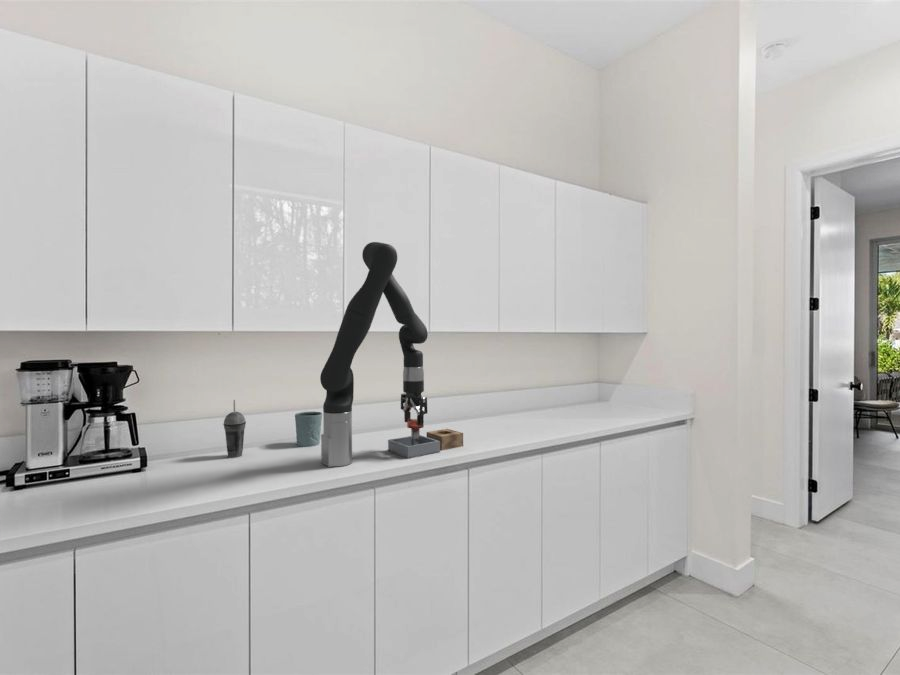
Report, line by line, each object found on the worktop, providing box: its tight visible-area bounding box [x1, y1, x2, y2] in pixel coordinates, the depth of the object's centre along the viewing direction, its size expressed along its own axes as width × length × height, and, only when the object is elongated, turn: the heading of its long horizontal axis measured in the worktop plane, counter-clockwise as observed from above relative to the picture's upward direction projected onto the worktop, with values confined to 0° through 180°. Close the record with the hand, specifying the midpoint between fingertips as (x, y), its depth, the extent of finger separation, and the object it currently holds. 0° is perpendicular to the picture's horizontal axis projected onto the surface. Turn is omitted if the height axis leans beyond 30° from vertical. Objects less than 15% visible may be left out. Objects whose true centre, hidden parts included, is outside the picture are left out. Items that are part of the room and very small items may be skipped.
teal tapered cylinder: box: [294, 411, 323, 448], centre depth 182 cm, size 10×10×12 cm
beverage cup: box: [222, 399, 247, 459], centre depth 165 cm, size 7×7×20 cm
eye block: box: [426, 428, 464, 451], centre depth 178 cm, size 10×10×5 cm
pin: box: [406, 418, 425, 446], centre depth 171 cm, size 6×6×11 cm
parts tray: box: [387, 434, 441, 459], centre depth 170 cm, size 14×14×4 cm
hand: (413, 423), depth 170 cm, fingers open, 8 cm apart
